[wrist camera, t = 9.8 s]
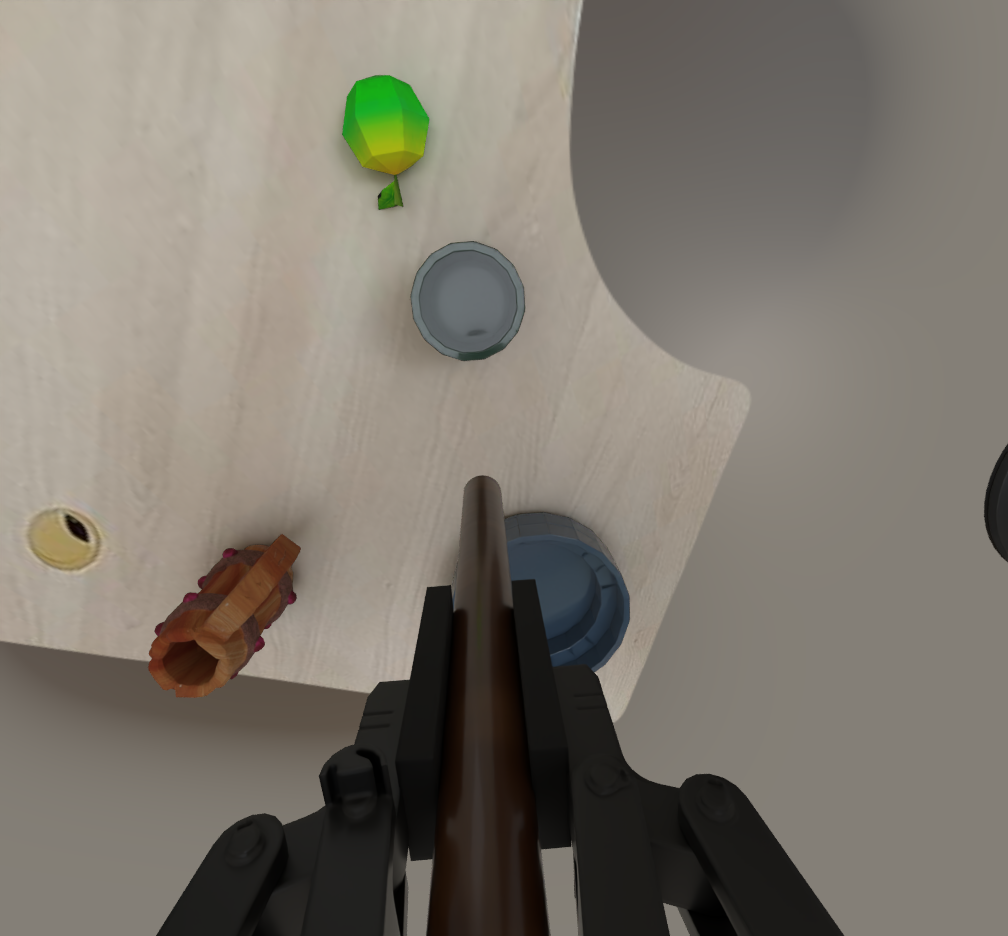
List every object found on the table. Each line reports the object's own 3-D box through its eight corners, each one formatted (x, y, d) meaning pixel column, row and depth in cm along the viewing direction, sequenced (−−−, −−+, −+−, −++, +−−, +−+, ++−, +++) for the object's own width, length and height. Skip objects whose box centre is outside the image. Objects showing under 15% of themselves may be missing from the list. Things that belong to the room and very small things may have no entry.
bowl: (613, 502, 53) (629, 527, 47) (615, 645, 58) (629, 682, 52) (444, 517, 52) (440, 544, 47) (461, 659, 58) (459, 699, 52)
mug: (267, 625, 55) (193, 738, 41) (200, 580, 53) (98, 682, 39) (353, 532, 53) (307, 618, 38) (286, 480, 51) (211, 551, 36)
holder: (511, 250, 45) (520, 237, 36) (518, 344, 48) (528, 355, 38) (419, 258, 45) (404, 246, 35) (430, 351, 47) (419, 364, 38)
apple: (356, 46, 34) (392, 196, 37) (433, 59, 38) (460, 194, 41) (312, 93, 39) (346, 221, 42) (384, 101, 43) (410, 218, 46)
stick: (500, 473, 28) (562, 1017, 7) (502, 508, 28) (566, 1108, 7) (462, 476, 28) (405, 1033, 7) (465, 511, 28) (422, 1123, 7)
